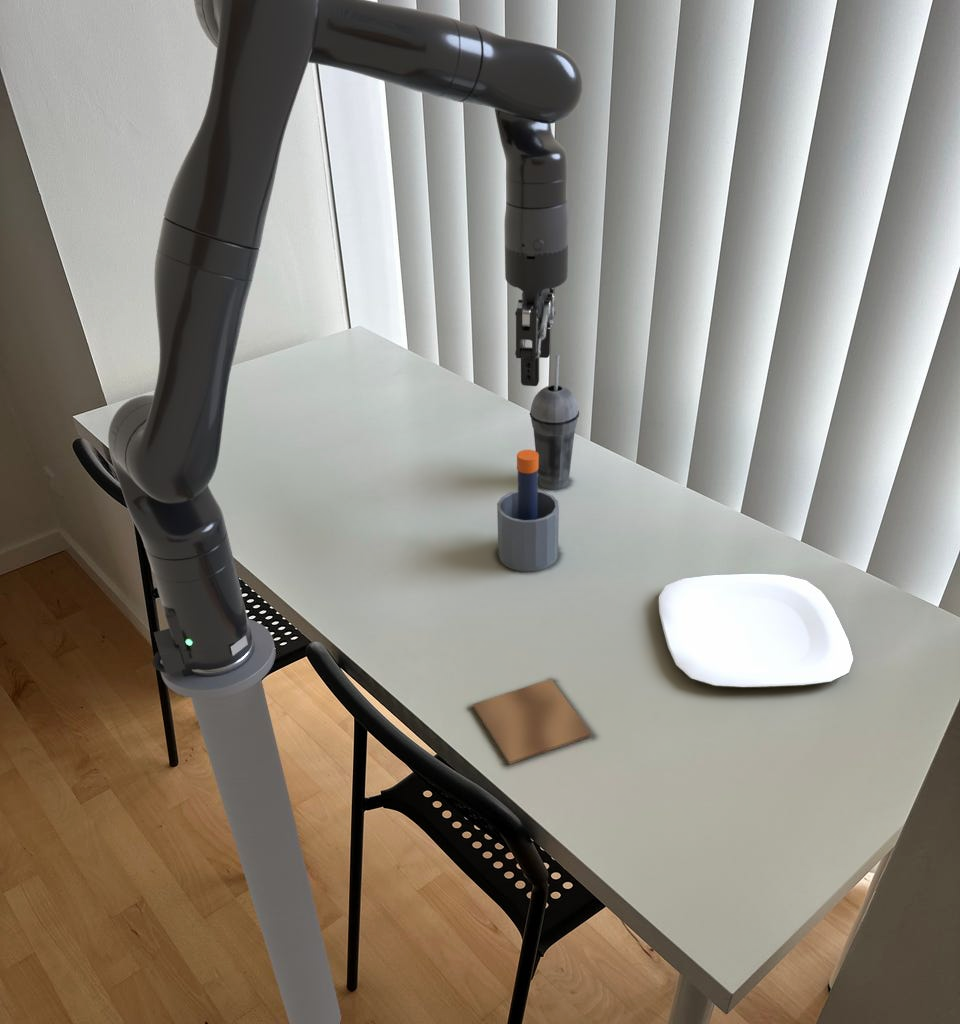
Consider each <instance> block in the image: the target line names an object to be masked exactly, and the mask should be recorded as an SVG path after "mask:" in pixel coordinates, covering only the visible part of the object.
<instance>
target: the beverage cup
mask: <svg viewBox="0 0 960 1024" xmlns="http://www.w3.org/2000/svg"><path fill="white" fill-rule="evenodd" d="M559 365H560V354H555V361H554V383H553V384H551V385H547V386H545V387H543V388H542V389H540V390H539V391H538V392H537V393H536V394H535V395H534V397H533V400H532V403H531V406H530V410H529V411H530V412H529V416H530V420H531V421H530V422H531V427H532V428H533V438H534V439H533V440H534V449H535V450H534V451H536V452H537V453H538V455H539V467H538V485H539V486H541V487H542V488H544V489H547V490H560V489H563V488H565V487H566V486H567V485H568V484H569V476H570V473H571V465H572V457H573V448H574V441H575V433H576V428H577V424H578V418H579V417H580V411H579V404H578V401H577V398H576V397H575V395H574V394H573V393H572V391H571V390H569V388H567V387H565V386H562V385H560V384H559V370H560V368H559V367H560V366H559Z"/></svg>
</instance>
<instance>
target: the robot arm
mask: <svg viewBox="0 0 960 1024" xmlns="http://www.w3.org/2000/svg"><path fill="white" fill-rule="evenodd" d="M193 2H194V9H195V13H196V17H197V20H198V22H199V25H200V27H201V29H202V30H203V32H204V34H205V36H206V37H207V38H208V40H209V42H211V43H212V45H213V46H214V47H215V48H216V56H215V63H214V69H213V73H212V74H213V76H212V81H211V88H210V94H209V98H208V102H207V106H206V109H205V113H204V116H203V119H202V120H201V124H200V127H199V129H198V131H197V133H196V135H195V137H194V139H193V141H192V143H191V145H190V147H189V149H188V151H187V153H186V155H185V157H184V159H183V161H182V163H181V165H180V168H179V170H178V171H177V174H176V176H175V179H174V181H173V183H172V186H171V188H170V192H169V195H168V198H167V202H166V205H165V208H164V212H163V218H162V223H161V229H160V233H159V234H160V235H159V239H158V244H157V249H156V253H155V254H156V256H155V260H154V277H153V279H154V280H153V281H154V297H155V312H156V320H157V321H156V322H157V332H158V344H159V345H158V346H159V363H158V372H157V378H156V384H155V388H154V392H153V394H147V395H140V396H136V397H133V398H130V399H129V400H128V401H126V402H125V403H124V404H122V405H121V406H120V407H119V408H118V409H117V410H116V412H115V413H114V415H113V417H112V419H111V421H110V424H109V427H108V428H109V429H108V433H107V444H108V450H109V455H110V459H111V462H112V465H113V468H114V470H115V474H116V478H117V480H118V484H119V487H120V489H121V492H122V495H123V498H124V501H125V505H126V507H127V510H128V512H129V515H130V517H131V520H132V521H133V523H134V526H135V527H136V529H137V531H138V533H139V535H140V538H141V541H142V542H143V547H144V549H145V552H146V553H145V554H146V556H147V559H148V563H149V565H150V569H151V572H152V575H153V579H154V582H155V585H156V589H157V593H158V596H159V600H160V603H161V606H162V610H163V612H164V616H165V619H166V623H167V625H168V628H165V629H161V630H158V631H155V632H153V635H154V638H155V642H156V646H157V649H158V651H156V652H155V654H154V656H153V658H152V661H151V663H152V666H153V668H154V669H155V670H156V671H158V672H160V671H161V672H164V673H166V674H171V673H173V672H176V671H180V670H182V672H183V676H184V677H187V676H191V675H197V676H204V677H210V676H218V675H223V674H226V673H229V672H232V671H234V670H236V669H238V668H239V667H241V666H242V665H244V664H245V663H246V662H247V661H248V660H249V659H250V657H251V656H252V654H253V652H254V646H255V645H254V640H253V636H252V634H251V630H250V627H249V623H248V619H249V618H248V613H247V611H246V606H245V602H244V598H243V593H242V589H241V584H240V580H239V576H238V573H237V568H236V564H235V560H234V555H233V551H232V546H231V542H230V537H229V533H228V530H227V526H226V522H225V521H226V520H225V518H224V514H223V511H222V508H221V506H220V505H219V503H218V501H217V499H216V498H215V496H214V495H213V493H212V490H211V489H210V486H209V484H210V482H211V480H212V479H213V477H214V475H215V472H216V470H217V466H218V463H219V456H220V450H221V444H222V436H223V435H222V433H223V427H224V418H225V410H226V403H227V401H226V400H227V394H228V388H229V387H228V386H229V382H230V377H231V376H230V375H231V371H232V367H233V362H234V358H235V355H236V351H237V346H238V341H239V337H240V333H241V328H242V324H243V319H244V314H245V309H246V305H247V301H248V298H249V294H250V291H251V287H252V285H253V284H252V283H253V279H254V276H255V271H256V268H257V263H258V259H259V255H260V250H261V245H262V241H263V234H264V230H265V224H266V219H267V215H268V210H269V207H270V202H271V198H272V194H273V193H272V192H273V189H274V185H275V179H276V176H277V170H278V164H279V160H280V154H281V150H282V145H283V141H284V139H285V133H286V130H287V127H288V124H289V120H290V117H291V114H292V111H293V108H294V105H295V102H296V99H297V97H298V94H299V90H300V88H301V84H302V81H303V79H304V75H305V73H306V70H307V68H308V65H309V64H315V65H319V66H320V65H321V66H327V67H331V68H336V69H340V70H344V71H349V72H352V73H356V74H359V75H363V76H366V77H369V78H372V79H375V80H379V81H383V82H384V83H385V82H386V83H389V84H392V85H394V86H397V87H401V88H405V89H407V90H411V91H414V92H417V93H421V94H425V95H429V96H432V97H437V98H441V99H444V100H449V101H453V102H457V103H463V104H470V105H477V106H478V105H479V106H484V107H489V108H492V109H493V110H494V114H495V119H496V123H497V129H498V134H499V139H500V143H501V147H502V151H503V155H504V158H505V211H504V221H503V222H504V225H503V226H504V227H503V228H504V231H503V233H504V279H505V281H506V282H507V284H508V285H510V286H511V287H514V288H517V289H519V290H520V291H521V298H519V299H518V300H517V305H516V306H517V307H516V310H515V313H514V315H515V352H514V356H515V358H516V359H520V383H521V386H524V387H525V386H526V387H537V386H538V385H539V382H540V359H547V358H549V357H550V355H551V334H552V333H551V332H552V331H551V330H552V327H553V325H554V318H555V316H556V310H555V309H556V306H555V304H556V300H555V299H556V297H555V296H556V295H555V294H556V292H555V291H556V288H557V287H560V286H562V285H563V284H564V283H565V282H566V281H567V279H568V267H569V266H568V265H569V228H570V227H569V225H570V223H569V219H570V218H569V211H568V175H569V173H568V171H569V170H568V169H569V168H568V166H569V165H568V163H569V162H568V154H567V152H566V150H565V148H564V147H563V146H562V144H560V143H559V142H558V141H557V140H556V138H555V137H554V134H553V132H552V125H551V124H556V123H559V122H562V121H564V120H565V119H567V118H568V117H569V116H570V115H572V113H574V111H575V110H576V109H577V107H578V105H579V104H580V102H581V98H582V96H583V89H584V81H583V76H582V71H581V69H580V67H579V64H578V63H577V62H576V60H575V59H574V57H572V56H571V55H570V54H569V53H567V52H566V51H564V50H562V49H559V48H557V47H553V46H552V47H551V46H548V45H544V44H540V43H537V42H531V41H525V40H522V39H517V38H511V37H508V36H503V35H500V34H498V33H495V32H492V31H490V30H488V29H486V28H483V27H481V26H478V25H475V24H472V23H470V22H466V21H462V20H459V19H455V18H452V17H449V16H444V15H442V14H438V13H435V12H431V11H425V10H421V9H416V8H412V7H406V6H400V5H395V4H390V3H389V4H388V3H383V2H378V1H372V0H194V1H193ZM526 341H531V347H529V346H528V347H527V346H526ZM161 660H162V663H163V665H162V664H161V663H160V661H161ZM161 672H160V673H161Z"/></svg>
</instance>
